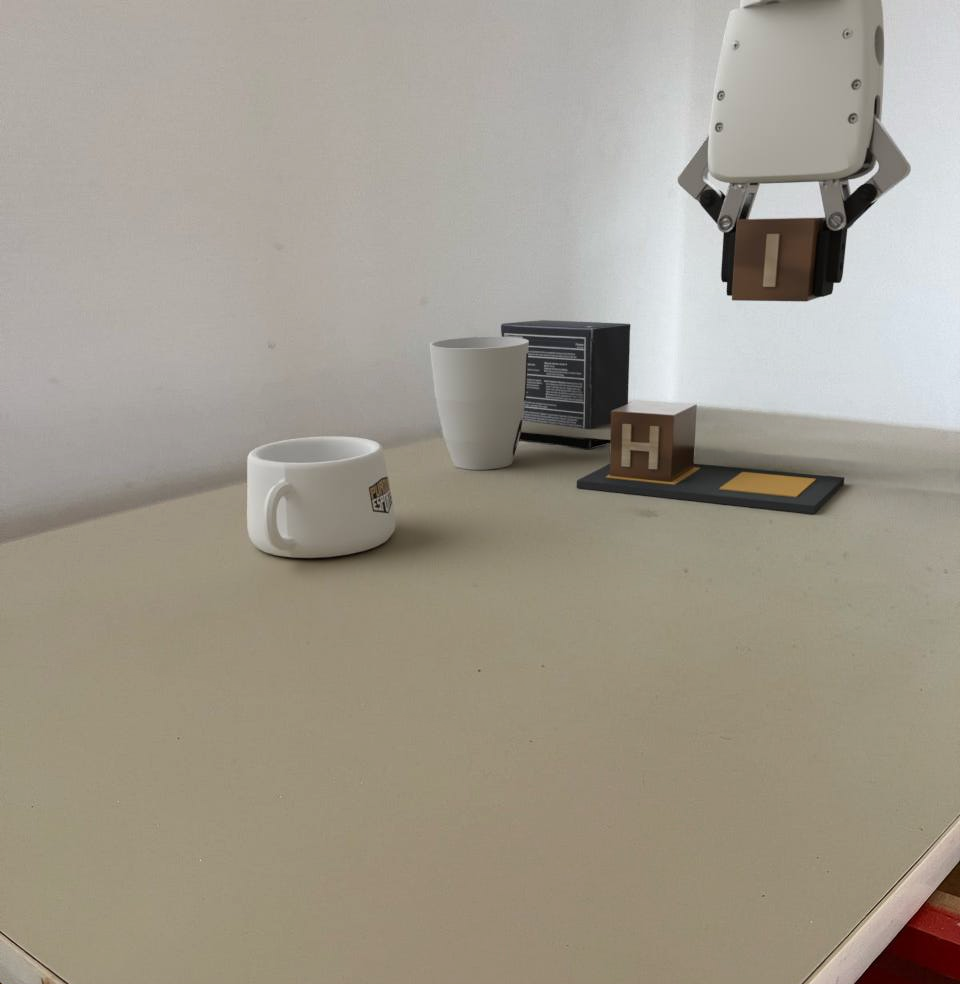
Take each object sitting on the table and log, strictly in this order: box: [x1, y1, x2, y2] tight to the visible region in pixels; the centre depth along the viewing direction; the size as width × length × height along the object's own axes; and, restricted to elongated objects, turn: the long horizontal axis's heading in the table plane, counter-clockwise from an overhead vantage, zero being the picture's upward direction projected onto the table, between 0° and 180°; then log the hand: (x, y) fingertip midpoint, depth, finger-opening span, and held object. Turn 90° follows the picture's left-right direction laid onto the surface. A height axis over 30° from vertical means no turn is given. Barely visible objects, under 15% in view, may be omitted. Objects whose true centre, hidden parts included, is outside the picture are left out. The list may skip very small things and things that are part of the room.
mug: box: [246, 435, 396, 559], centre depth 66 cm, size 12×10×6 cm
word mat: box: [576, 463, 845, 515], centre depth 78 cm, size 18×9×1 cm, turn 60°
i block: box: [731, 216, 826, 303], centre depth 68 cm, size 5×5×5 cm
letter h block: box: [609, 399, 698, 482], centre depth 79 cm, size 5×5×5 cm
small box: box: [500, 319, 631, 450], centre depth 94 cm, size 11×6×10 cm, turn 48°
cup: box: [429, 336, 529, 471], centre depth 86 cm, size 8×8×10 cm
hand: (779, 291), depth 69 cm, fingers closed on i block, 5 cm apart
